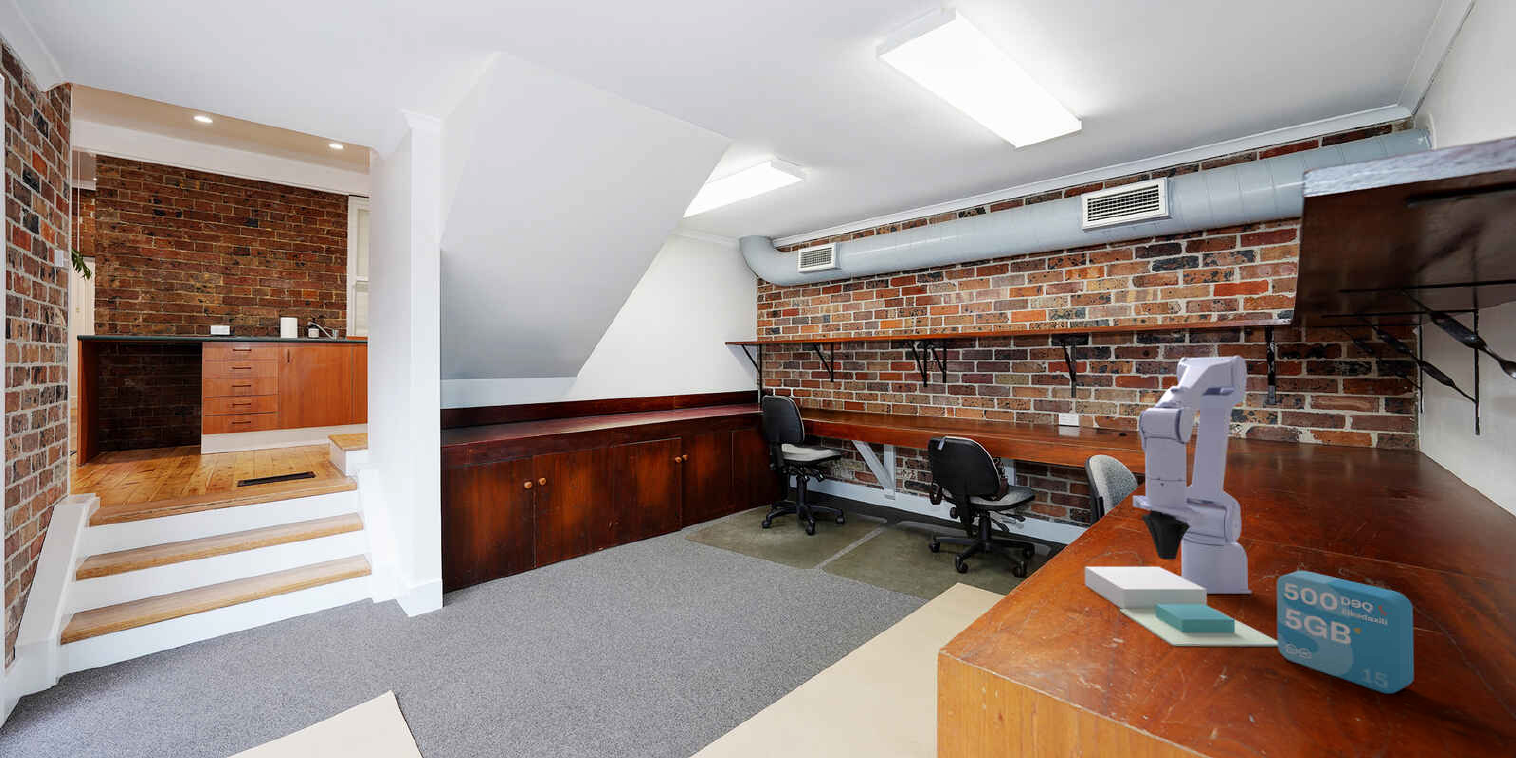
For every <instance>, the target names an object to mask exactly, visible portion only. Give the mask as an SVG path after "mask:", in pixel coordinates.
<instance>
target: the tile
mask: <svg viewBox="0 0 1516 758" xmlns="http://www.w3.org/2000/svg"><path fill="white" fill-rule="evenodd" d="M1156 617H1157V618H1159V619H1161V620H1162V621H1164V622H1166V623H1167V624H1169V625H1170V626H1172V627H1174V628H1175V629H1177V630H1179V631H1180V632H1197V633H1235V620H1236V619H1235V618H1233V617H1230V616H1229V615H1227V614H1226V613H1223V612H1221V611H1219V610H1217V609H1216V608H1215V609H1214V608H1213V607H1210V606H1209V605H1208V604H1207V605H1205V604H1156ZM1232 618H1233V619H1232ZM1234 619H1235V620H1234Z"/></svg>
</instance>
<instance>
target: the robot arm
mask: <svg viewBox="0 0 1516 758" xmlns="http://www.w3.org/2000/svg"><path fill="white" fill-rule="evenodd" d="M1247 371H1248V369H1247V364H1246V361H1245V359H1244V358H1243V357H1242V356H1241V355H1234V356H1216V357H1215V356H1211V357H1210V356H1208V357H1207V356H1206V357H1188V356H1185V357H1182V358H1181V359H1180V360H1179V361H1178V363H1177V366H1176V379H1177V383H1178V384H1177V385H1172V386H1171V387H1169V388H1168V389H1167V390H1166V391H1165V392H1164V393H1163V394H1162V396H1161V397H1160V399H1158V401H1157V402H1156V404H1155V405H1154V406H1153V407H1148V408H1147V409H1146V410H1142V411H1141V412H1140V414H1139V418H1138V424H1137V429H1138V433H1139V437H1140V440H1141V441H1140V442H1141V445H1140V446H1141V450H1142V451H1144V456H1145V457H1144V463H1145V464H1144V467H1145V468H1144V472H1145V475H1144V476H1145V477H1144V478H1145V495H1132V506H1133V507H1135V508H1141V509H1144V510H1147V511H1149V514H1148V513H1147V514H1141V515H1142V516H1141V518H1142V521H1143V522H1144V524H1145V526H1147V529H1148V531H1149V533H1150V536H1151V538H1152V541H1153V544H1154V547H1155V552H1156V554H1157V557H1158V558H1160V559H1161V560H1169V561H1171V560H1176V559H1177V555H1178V552H1179V548H1180V545H1181V548H1180V549H1181V577H1182V578H1184V579H1186V580H1188V581H1190V582H1192V583H1194V584H1196V585H1199V586H1201V587H1203V588H1205V589H1207V595H1208V594H1211V595H1212V594H1222V595H1223V594H1226V595H1227V594H1236V595H1237V594H1239V595H1240V594H1244V595H1245V594H1246V595H1247V594H1248V595H1249V594H1250V595H1251V594H1252V590H1250V589H1248V587H1249V584H1248V582H1249V581H1248V577H1249V575H1248V573H1249V572H1248V571H1249V570H1248V568H1249V567H1248V557H1247V553H1246V551H1245V548H1244V547H1243V545H1241V544H1240V543H1239V542H1238V540H1239V538H1240V537H1241V533H1242V517H1241V509H1242V508H1241V506H1240V504H1239V501H1237V500H1236V498H1234V497H1233V496H1231V495H1230V494H1229V493H1227V492H1226V491H1225V490H1224V481H1225V475H1226V465H1227V464H1226V463H1227V453H1228V452H1227V451H1228V443H1229V435H1230V423H1231V417H1232V413H1233V409H1234V406H1236V405H1239V404H1241V403H1243V402H1244V400H1245V399H1244V398H1245V396H1246V391H1247V381H1248V372H1247ZM1198 412H1199V416H1198V417H1199V419H1198V424H1197V425H1198V427H1197V434H1196V437H1197V438H1196V444H1195V445H1196V446H1195V451H1194V452H1195V453H1194V463H1193V469H1192V478H1191V484H1190V485H1189V486H1187V485H1188V484H1187V479H1188V478H1187V443H1188V442H1189V441H1191V437H1192V432H1193V427H1194V424H1195V422H1194V418H1195V417H1196V415H1197V414H1198Z"/></svg>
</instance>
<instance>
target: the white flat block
mask: <svg viewBox="0 0 1516 758" xmlns="http://www.w3.org/2000/svg"><path fill="white" fill-rule="evenodd" d="M1084 585H1085V586H1086V587H1087V588H1089V589H1090V590H1091V591H1094V592H1095V593H1097V594H1098V595H1100V596H1101V597H1103V598H1105V599H1106V600H1108V601H1109V602H1110V603H1112V604H1114V605H1115V606H1117V607H1119V609H1156V604H1205V605H1207V606H1208V597H1207V596H1208V594H1207V589H1205V588H1203V587H1201V586H1199V585H1196V584H1194V583H1192V582H1190V581H1188V580H1186V579H1184V578H1182V576H1180V575H1178V574H1175V573H1174V572H1171V571H1169V570H1167V569H1165V568H1162V567H1160V566H1084Z"/></svg>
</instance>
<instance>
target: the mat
mask: <svg viewBox="0 0 1516 758" xmlns="http://www.w3.org/2000/svg"><path fill="white" fill-rule="evenodd" d="M1119 612H1120V613H1122V614H1123V615H1125V616H1127V617H1128V618H1130V619H1131V620H1133V621H1134V622H1136V623H1138V625H1140V626H1142V627H1143V628H1145V629H1146V630H1148V631H1149V632H1151V633H1153V634H1154V635H1155V636H1157V637H1159V638H1160V639H1162V640H1163V641H1165V642H1166V643H1167V644H1170V645H1171V646H1173V647H1278V640H1277V639H1274V638H1272V637H1271V636H1268V635H1266V634H1265V633H1263V632H1261V631H1258V630H1257V629H1255V628H1253V627H1250V626H1249V625H1247V624H1244V623H1243V622H1241V621H1239V620H1237V619H1235V618H1233V617H1231V618H1232V619H1234V620H1235V633H1197V632H1180V631H1179V630H1177V629H1175V628H1174V627H1172V626H1170V625H1169V624H1167V623H1166V622H1164V621H1162V620H1161V619H1159V618H1157V617H1156V609H1122V608H1119Z"/></svg>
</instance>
